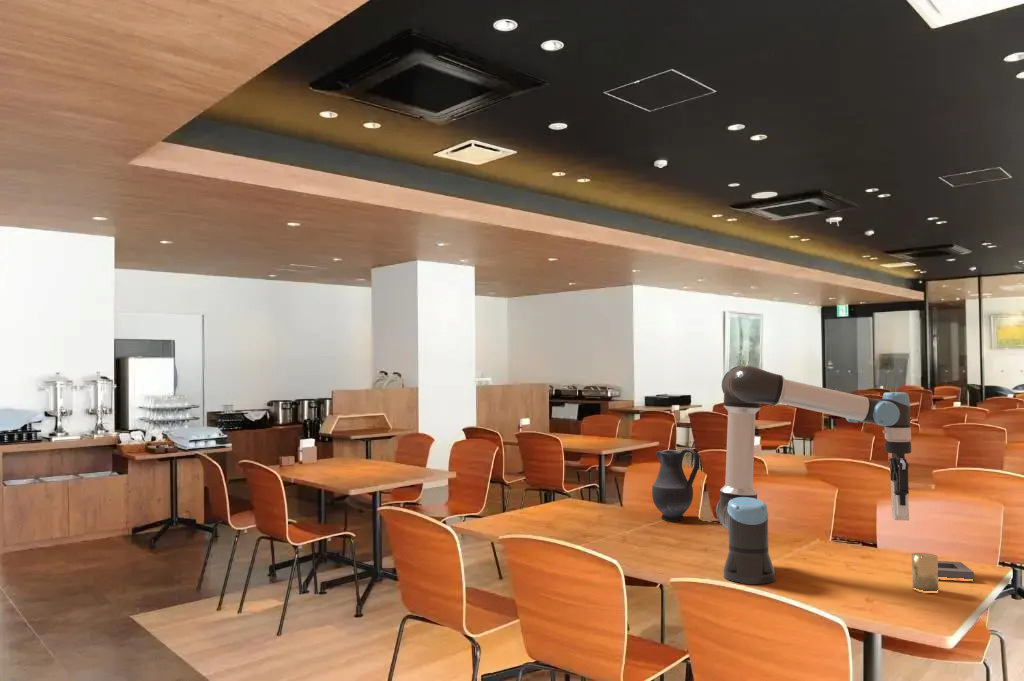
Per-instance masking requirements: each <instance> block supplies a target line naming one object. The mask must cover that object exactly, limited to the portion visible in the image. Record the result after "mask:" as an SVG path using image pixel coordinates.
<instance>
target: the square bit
mask: <svg viewBox="0 0 1024 681" xmlns="http://www.w3.org/2000/svg"><path fill="white" fill-rule="evenodd" d="M897 492H898V491H897V480H891V479H890V494H891V495H890V496H891V499H890V500H891V501H890V502H891V518H892V519H893V520H895V521H907V522H908V521H910V516H909V515H910V510H909V509H910V508H909V494H907V516H898V515H897V495H895V493H897Z"/></svg>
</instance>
